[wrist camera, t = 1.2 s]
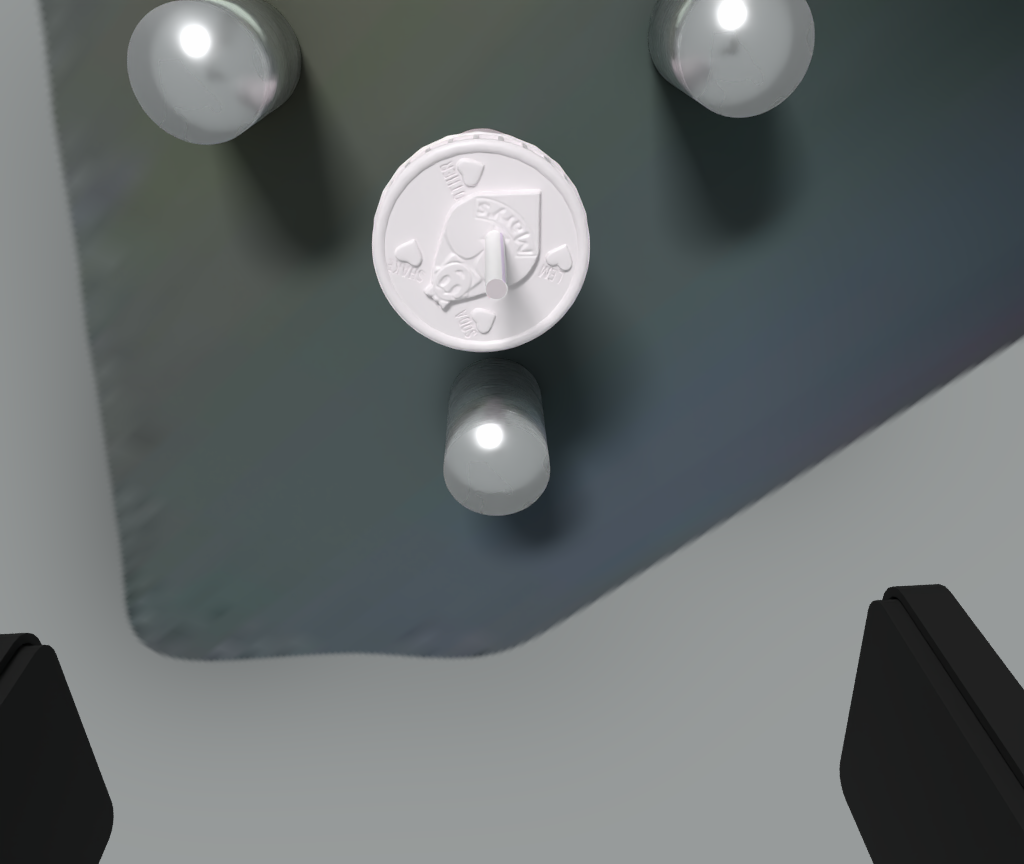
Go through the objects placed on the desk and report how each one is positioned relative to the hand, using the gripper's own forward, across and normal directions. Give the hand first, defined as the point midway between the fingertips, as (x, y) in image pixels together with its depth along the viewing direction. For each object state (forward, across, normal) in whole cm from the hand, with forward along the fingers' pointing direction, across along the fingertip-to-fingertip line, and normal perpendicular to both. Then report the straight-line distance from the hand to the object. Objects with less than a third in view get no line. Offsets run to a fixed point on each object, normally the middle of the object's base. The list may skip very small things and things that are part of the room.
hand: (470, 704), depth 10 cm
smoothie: (+27, 0, 0) cm, 27 cm away
